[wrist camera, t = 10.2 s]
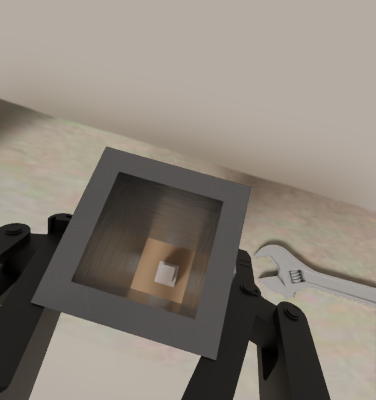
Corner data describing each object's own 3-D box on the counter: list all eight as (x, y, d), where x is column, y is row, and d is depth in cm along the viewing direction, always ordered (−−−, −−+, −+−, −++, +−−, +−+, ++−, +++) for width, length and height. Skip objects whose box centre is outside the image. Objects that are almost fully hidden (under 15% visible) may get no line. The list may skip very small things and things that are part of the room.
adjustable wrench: (425, 303, 34) (438, 304, 33) (425, 353, 32) (439, 356, 30) (258, 241, 36) (262, 239, 34) (247, 284, 33) (251, 284, 32)
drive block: (125, 301, 32) (114, 303, 26) (146, 236, 35) (141, 225, 29) (190, 320, 31) (195, 326, 26) (206, 252, 35) (213, 245, 29)
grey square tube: (115, 296, 19) (30, 302, 8) (141, 224, 21) (106, 146, 10) (189, 319, 18) (216, 360, 7) (208, 244, 21) (250, 187, 9)
